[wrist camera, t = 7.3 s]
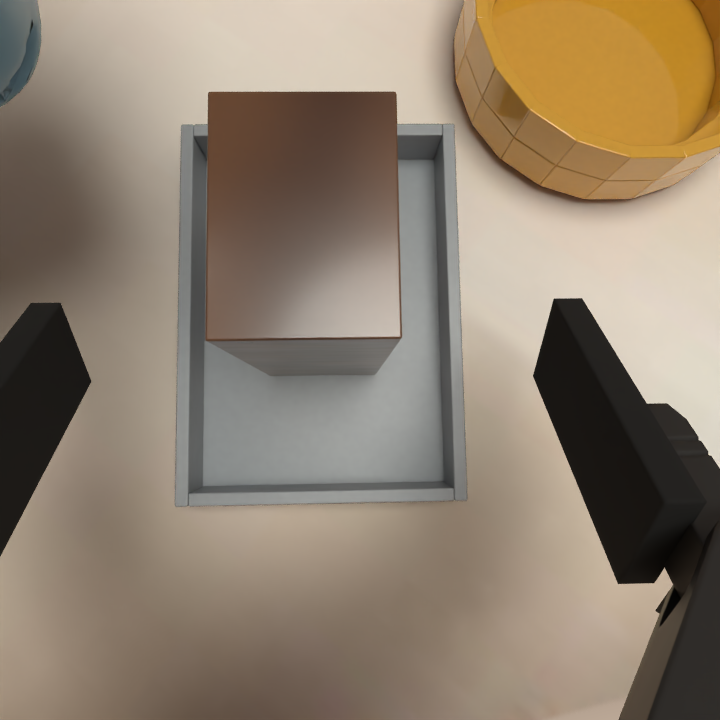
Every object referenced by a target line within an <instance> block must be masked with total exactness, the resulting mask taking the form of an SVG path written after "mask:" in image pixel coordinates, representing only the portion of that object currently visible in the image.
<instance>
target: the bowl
mask: <svg viewBox="0 0 720 720" xmlns="http://www.w3.org/2000/svg"><path fill="white" fill-rule="evenodd" d="M454 52H455V80H456V83H457V86H458V89H459V91H460V94H461V97H462V99H463V102H464V104H465V107H466V110H467V112H468V115H469V118H470V120H471V122H472V125H473V126H474V127H475V129H476V130H477V131H478V132H479V134H480V135H481V136H482V137H483V139H484V140H485V141H486V142H487V144H488V145H489V146H490V147H491V149H492V150H493V151H494V152H495V154H496V155H497V156H498V157H499V159H502V161H504V162H505V163H507V164H508V165H510V166H511V167H513V168H514V169H516V170H517V171H519V172H520V173H522V174H523V175H525V176H526V177H528V178H529V179H531V180H532V181H534V182H535V183H536V184H538V185H539V184H540V186H542V187H545V188H549V189H552V190H555V191H558V192H562V193H565V194H568V195H572V196H575V197H578V198H581V199H631V198H636V197H639V196H642V195H645V194H648V193H651V192H654V191H657V190H660V189H663V188H666V187H669V186H672V185H674V184H676V183H678V182H679V181H680V180H682V179H683V178H685V177H686V176H687V175H689V174H690V173H692V172H693V171H694V170H696V169H697V168H699V167H700V166H702V165H703V164H704V163H706V162H707V161H709V160H710V159H711V158H713V157H714V156H716V155H717V154H719V153H720V0H465V1H464V4H463V8H462V11H461V15H460V18H459V22H458V25H457V29H456V32H455V37H454Z"/></svg>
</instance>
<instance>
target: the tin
mask: <svg viewBox="0 0 720 720" xmlns="http://www.w3.org/2000/svg"><path fill="white" fill-rule="evenodd" d="M397 142H398V183H399V224H400V265H401V306H402V338H401V340H400V341H399V343H398V344H397V345H396V347H395V348H394V350H393V351H392V352H391V354H390V355H389V357H388V358H387V359H386V361H385V362H384V364H383V365H382V366H381V368H380V369H379V371H378V372H377V373H376V374H375V375H316V376H270V375H268V374H266V373H264V372H262V371H260V370H259V369H257V368H255V367H253V366H251V365H249V364H248V363H246V362H244V361H242V360H240V359H238V358H237V357H235V356H233V355H231V354H229V353H228V352H226V351H224V350H222V349H220V348H218V347H217V346H215V345H213V344H211V343H209V342H207V341H206V339H205V320H206V233H207V146H208V124H195V125H181V167H180V227H179V288H178V348H177V409H176V470H175V506H176V507H187V506H190V507H194V506H242V505H290V504H338V503H386V502H434V501H454V500H455V501H467V471H466V443H465V414H464V386H463V358H462V329H461V301H460V272H459V244H458V216H457V187H456V159H455V131H454V124H397Z"/></svg>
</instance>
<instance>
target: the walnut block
mask: <svg viewBox="0 0 720 720" xmlns="http://www.w3.org/2000/svg"><path fill="white" fill-rule="evenodd" d="M401 338H402V306H401V265H400V224H399V183H398V142H397V101H396V92H209V93H208V146H207V233H206V320H205V339H206V341H207V342H209V343H211V344H213V345H215V346H217V347H218V348H220V349H222V350H224V351H226V352H228V353H229V354H231V355H233V356H235V357H237V358H238V359H240V360H242V361H244V362H246V363H248V364H249V365H251V366H253V367H255V368H257V369H259V370H260V371H262V372H264V373H266V374H268V375H270V376H316V375H375V374H376V373H377V372H378V371H379V369H380V368H381V366H382V365H383V364H384V362H385V361H386V359H387V358H388V357H389V355H390V354H391V352H392V351H393V350H394V348H395V347H396V345H397V344H398V343H399V341H400V340H401Z"/></svg>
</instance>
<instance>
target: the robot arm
mask: <svg viewBox="0 0 720 720" xmlns="http://www.w3.org/2000/svg"><path fill="white" fill-rule="evenodd" d="M40 46H41V20H40V14H39V8H38V3H37V0H0V107H1V106H3V105H5V104H6V103H8V102H9V101H10V100H11V99H12V98H13V97H14V96H16V95H17V94H18V93H19V92H20V91H21V90H22V89H23V88H24V86H25V85H26V84H27V83H28V81H29V80H30V78H31V76H32V74H33V72H34V69H35V67H36V64H37V61H38V57H39V52H40ZM533 377H534V379H535V382H536V384H537V387H538V389H539V392H540V394H541V397H542V399H543V401H544V404H545V406H546V409H547V411H548V414H549V416H550V419H551V421H552V423H553V426H554V428H555V431H556V433H557V436H558V438H559V441H560V443H561V445H562V448H563V450H564V453H565V455H566V458H567V460H568V462H569V465H570V467H571V470H572V472H573V475H574V477H575V480H576V482H577V484H578V487H579V489H580V492H581V494H582V497H583V499H584V502H585V504H586V506H587V509H588V511H589V514H590V516H591V519H592V521H593V524H594V526H595V528H596V531H597V533H598V536H599V538H600V541H601V543H602V545H603V548H604V550H605V553H606V555H607V558H608V560H609V563H610V565H611V567H612V570H613V572H614V575H615V577H616V580H617V582H618V584H633V583H655V581H656V580H657V578H658V577H659V575H660V574H661V572H662V570H663V569H664V567H665V569H666V571H667V573H668V575H669V577H670V579H671V581H672V583H673V586H672V588H671V589H670V590H669V592H668V593H667V595H666V596H665V598H664V599H663V600H662V602H661V603H660V605H659V606H658V608H657V609H656V612H658V613H660V615H659V617H658V620H657V622H656V625H655V627H654V630H653V632H652V635H651V638H650V640H649V643H648V645H647V648H646V650H645V653H644V656H643V658H642V661H641V663H640V666H639V668H638V671H637V673H636V676H635V679H634V681H633V684H632V686H631V689H630V691H629V694H628V697H627V699H626V702H625V704H624V707H623V709H622V712H621V714H620V717H619V720H720V468H719V467H718V465H717V464H716V462H715V461H714V459H713V458H712V456H709V455H708V451H707V449H706V448H705V446H704V445H703V443H702V442H701V441H699V440H698V436H697V434H696V433H695V431H694V430H693V428H692V427H691V425H690V424H689V422H688V421H687V419H686V418H684V417H683V416H682V415H681V414H679V413H678V412H677V411H676V410H674V409H673V408H672V407H671V406H669V405H668V404H647V403H646V402H645V400H644V399H643V397H642V395H641V394H640V392H639V390H638V389H637V387H636V385H635V384H634V382H633V381H632V379H631V377H630V376H629V374H628V372H627V371H626V369H625V368H624V366H623V364H622V363H621V361H620V359H619V358H618V356H617V355H616V353H615V351H614V350H613V348H612V346H611V345H610V343H609V342H608V340H607V338H606V337H605V335H604V333H603V332H602V330H601V329H600V327H599V325H598V324H597V322H596V320H595V319H594V317H593V315H592V314H591V312H590V311H589V309H588V307H587V306H586V304H585V302H584V301H583V299H582V298H578V299H554V300H553V304H552V308H551V312H550V315H549V319H548V323H547V326H546V330H545V334H544V338H543V341H542V345H541V349H540V352H539V356H538V360H537V364H536V367H535V371H534V375H533ZM90 383H91V379H90V377H89V374H88V371H87V369H86V366H85V364H84V361H83V359H82V356H81V354H80V351H79V349H78V346H77V343H76V341H75V338H74V336H73V333H72V331H71V328H70V326H69V323H68V321H67V318H66V315H65V313H64V310H63V308H62V305H61V303H31V304H30V305H29V306H28V308H27V309H26V310H25V311H24V313H23V314H22V315H21V317H20V318H19V319H18V320H17V322H16V323H15V324H14V326H13V327H12V328H11V329H10V331H9V332H8V333H7V335H6V336H5V337H4V339H3V340H2V341H1V342H0V556H1V554H2V552H3V550H4V548H5V546H6V544H7V542H8V541H9V539H10V537H11V535H12V533H13V531H14V529H15V527H16V525H17V523H18V521H19V519H20V518H21V516H22V514H23V512H24V510H25V508H26V506H27V504H28V502H29V500H30V498H31V496H32V494H33V493H34V491H35V489H36V487H37V485H38V483H39V481H40V479H41V477H42V475H43V473H44V471H45V470H46V468H47V466H48V464H49V462H50V460H51V458H52V456H53V454H54V452H55V450H56V448H57V446H58V445H59V443H60V441H61V439H62V437H63V435H64V433H65V431H66V429H67V427H68V425H69V423H70V422H71V420H72V418H73V416H74V414H75V412H76V410H77V408H78V406H79V404H80V402H81V400H82V398H83V397H84V395H85V393H86V391H87V389H88V387H89V385H90Z"/></svg>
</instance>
